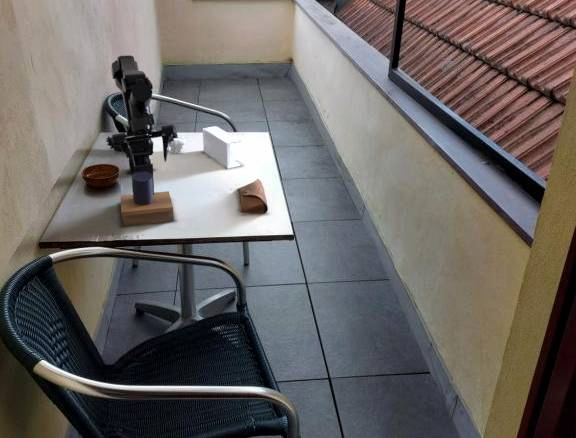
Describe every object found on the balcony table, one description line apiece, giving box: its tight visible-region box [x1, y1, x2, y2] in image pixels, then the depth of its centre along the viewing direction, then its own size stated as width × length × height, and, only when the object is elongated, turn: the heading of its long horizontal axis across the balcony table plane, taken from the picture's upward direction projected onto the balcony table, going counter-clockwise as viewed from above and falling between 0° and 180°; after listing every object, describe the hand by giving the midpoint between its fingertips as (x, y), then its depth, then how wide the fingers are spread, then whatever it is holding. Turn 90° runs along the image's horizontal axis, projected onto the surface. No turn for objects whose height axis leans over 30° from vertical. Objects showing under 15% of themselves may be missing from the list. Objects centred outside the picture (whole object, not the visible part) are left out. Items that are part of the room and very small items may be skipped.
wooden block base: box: [119, 190, 175, 227], centre depth 160 cm, size 15×14×4 cm
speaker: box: [131, 163, 155, 205], centre depth 155 cm, size 8×6×10 cm
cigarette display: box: [202, 125, 242, 170], centre depth 198 cm, size 20×6×9 cm, turn 34°
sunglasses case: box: [237, 178, 269, 215], centre depth 169 cm, size 18×7×7 cm
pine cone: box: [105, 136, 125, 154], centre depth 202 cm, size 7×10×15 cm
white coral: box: [169, 135, 186, 154], centre depth 203 cm, size 7×8×6 cm
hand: (149, 164), depth 162 cm, fingers open, 9 cm apart
